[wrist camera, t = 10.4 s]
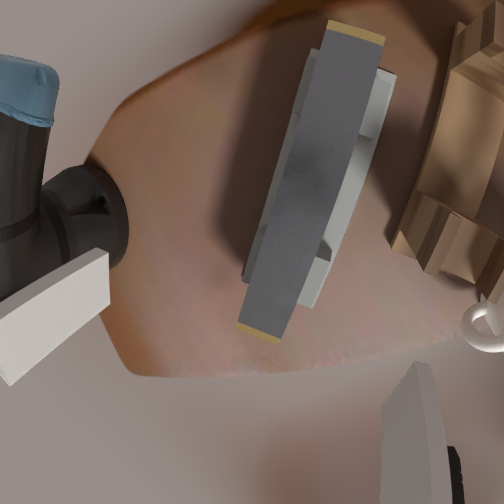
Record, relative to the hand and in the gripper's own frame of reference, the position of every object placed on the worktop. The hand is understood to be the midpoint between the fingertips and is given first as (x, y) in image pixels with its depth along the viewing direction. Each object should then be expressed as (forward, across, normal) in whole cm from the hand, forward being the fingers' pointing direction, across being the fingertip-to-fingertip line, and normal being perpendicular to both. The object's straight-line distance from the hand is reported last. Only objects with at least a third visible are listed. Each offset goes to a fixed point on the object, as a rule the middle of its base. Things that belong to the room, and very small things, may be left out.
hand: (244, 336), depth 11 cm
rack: (+19, +13, +12) cm, 25 cm away
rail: (+16, 0, +3) cm, 16 cm away
